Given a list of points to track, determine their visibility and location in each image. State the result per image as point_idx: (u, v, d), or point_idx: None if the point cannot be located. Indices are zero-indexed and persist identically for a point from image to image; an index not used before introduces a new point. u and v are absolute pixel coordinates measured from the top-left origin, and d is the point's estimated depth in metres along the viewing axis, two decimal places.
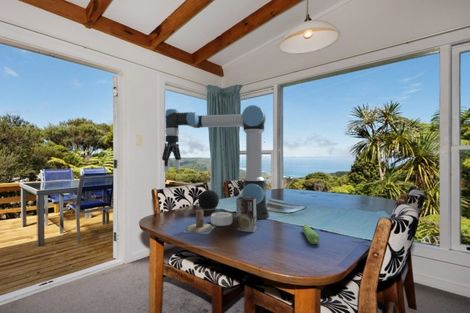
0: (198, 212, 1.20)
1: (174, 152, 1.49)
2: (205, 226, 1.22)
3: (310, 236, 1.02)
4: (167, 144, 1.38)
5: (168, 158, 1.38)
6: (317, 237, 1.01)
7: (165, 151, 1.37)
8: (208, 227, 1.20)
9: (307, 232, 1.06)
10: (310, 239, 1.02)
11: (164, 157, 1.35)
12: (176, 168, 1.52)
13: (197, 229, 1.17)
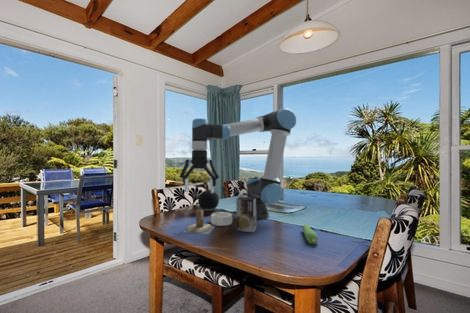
0: (198, 212, 1.20)
1: None
2: (205, 226, 1.22)
3: (308, 236, 1.03)
4: None
5: (185, 176, 1.22)
6: (315, 237, 1.02)
7: None
8: (208, 227, 1.20)
9: (306, 232, 1.07)
10: (308, 239, 1.02)
11: None
12: None
13: (197, 229, 1.17)
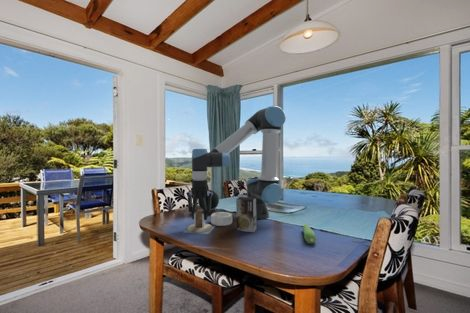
0: (198, 212, 1.20)
1: None
2: (205, 226, 1.22)
3: (306, 235, 1.03)
4: None
5: (193, 210, 1.21)
6: (313, 237, 1.02)
7: None
8: (208, 227, 1.20)
9: (304, 231, 1.07)
10: (306, 238, 1.03)
11: None
12: None
13: (197, 229, 1.17)
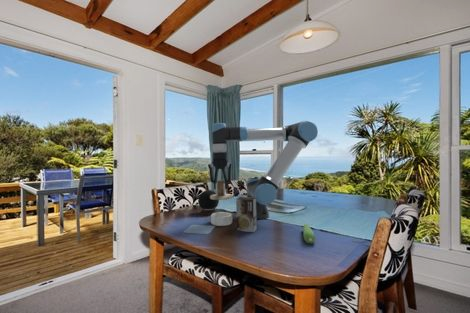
0: (219, 182, 1.30)
1: None
2: (226, 195, 1.33)
3: (305, 235, 1.03)
4: None
5: (215, 181, 1.31)
6: (312, 236, 1.02)
7: None
8: (229, 195, 1.30)
9: (304, 231, 1.08)
10: (305, 238, 1.03)
11: None
12: None
13: (220, 197, 1.27)
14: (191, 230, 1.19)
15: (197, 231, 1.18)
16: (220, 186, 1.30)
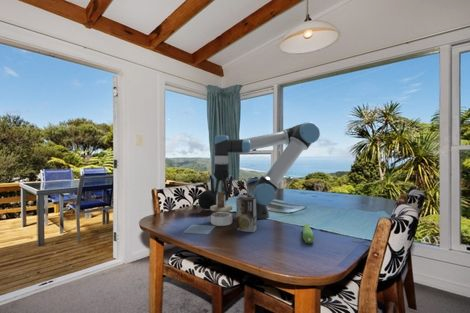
0: (220, 193, 1.31)
1: None
2: (226, 206, 1.34)
3: (304, 235, 1.04)
4: None
5: (215, 192, 1.32)
6: (311, 236, 1.02)
7: None
8: (229, 207, 1.31)
9: (303, 231, 1.08)
10: (304, 238, 1.04)
11: None
12: None
13: (220, 208, 1.28)
14: (191, 230, 1.19)
15: (197, 231, 1.18)
16: (220, 198, 1.31)
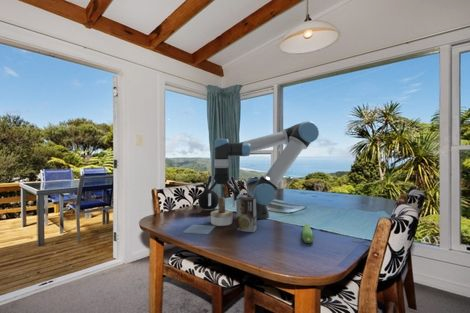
0: (220, 199, 1.31)
1: None
2: (227, 212, 1.34)
3: (304, 235, 1.04)
4: None
5: (208, 192, 1.33)
6: (310, 236, 1.03)
7: None
8: (230, 213, 1.31)
9: (303, 231, 1.08)
10: (303, 238, 1.04)
11: None
12: None
13: (220, 214, 1.28)
14: (191, 230, 1.19)
15: (197, 231, 1.18)
16: (221, 203, 1.31)
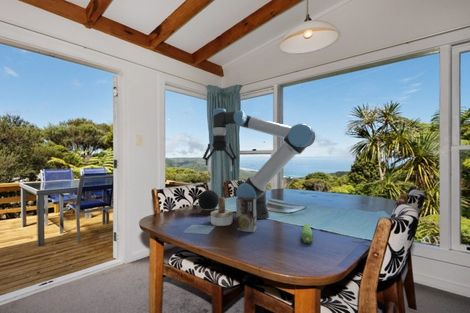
0: (220, 199, 1.31)
1: None
2: (227, 212, 1.34)
3: (303, 234, 1.04)
4: None
5: (207, 158, 1.43)
6: (309, 236, 1.03)
7: None
8: (230, 213, 1.31)
9: (302, 231, 1.08)
10: (303, 237, 1.04)
11: None
12: None
13: (220, 214, 1.28)
14: (191, 230, 1.19)
15: (197, 231, 1.18)
16: (221, 203, 1.31)
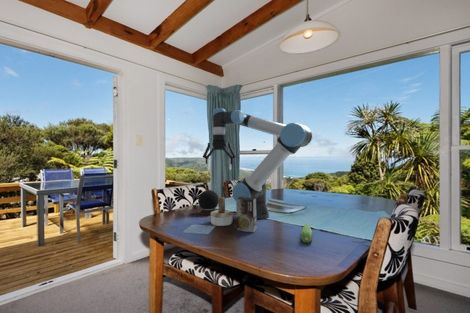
0: (220, 199, 1.31)
1: None
2: (227, 212, 1.34)
3: (302, 234, 1.05)
4: None
5: (207, 157, 1.47)
6: (308, 236, 1.03)
7: None
8: (230, 213, 1.31)
9: (302, 230, 1.09)
10: (302, 237, 1.04)
11: None
12: None
13: (220, 214, 1.28)
14: (191, 230, 1.19)
15: (197, 231, 1.18)
16: (221, 203, 1.31)
